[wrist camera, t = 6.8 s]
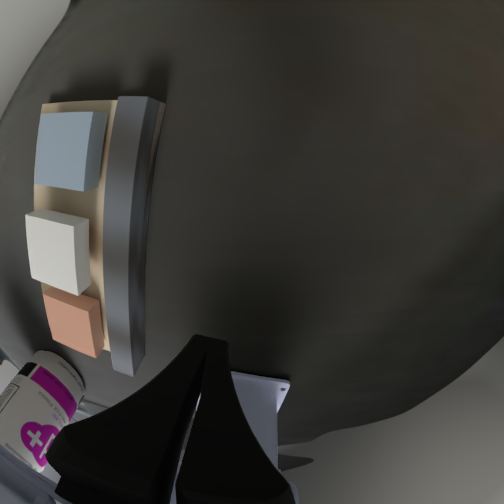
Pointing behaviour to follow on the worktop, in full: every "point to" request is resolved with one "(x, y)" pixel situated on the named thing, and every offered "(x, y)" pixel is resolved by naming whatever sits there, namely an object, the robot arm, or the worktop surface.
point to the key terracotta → (75, 321)
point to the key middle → (59, 250)
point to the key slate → (70, 150)
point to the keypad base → (115, 218)
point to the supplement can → (38, 407)
